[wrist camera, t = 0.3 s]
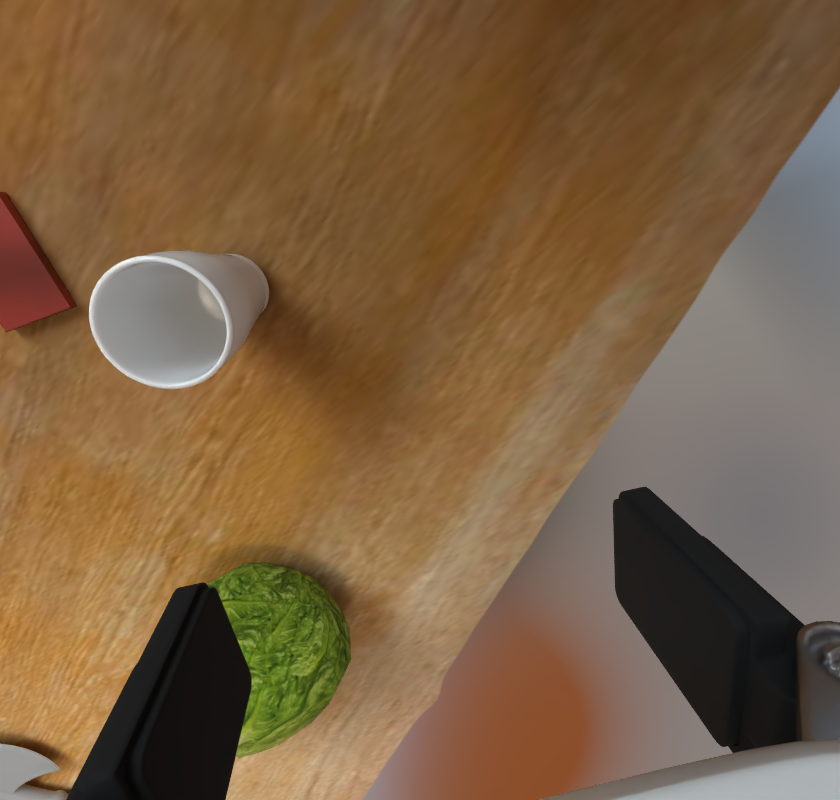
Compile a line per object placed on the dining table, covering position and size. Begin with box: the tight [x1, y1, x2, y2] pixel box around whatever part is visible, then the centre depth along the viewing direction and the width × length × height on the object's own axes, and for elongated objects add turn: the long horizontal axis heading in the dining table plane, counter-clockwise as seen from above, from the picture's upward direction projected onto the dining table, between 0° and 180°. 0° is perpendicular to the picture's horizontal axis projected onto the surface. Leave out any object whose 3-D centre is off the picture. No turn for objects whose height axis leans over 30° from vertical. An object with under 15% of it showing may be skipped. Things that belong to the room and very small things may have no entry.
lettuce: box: [207, 563, 351, 758], centre depth 44 cm, size 14×23×14 cm
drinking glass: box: [89, 250, 269, 389], centre depth 30 cm, size 7×7×15 cm
